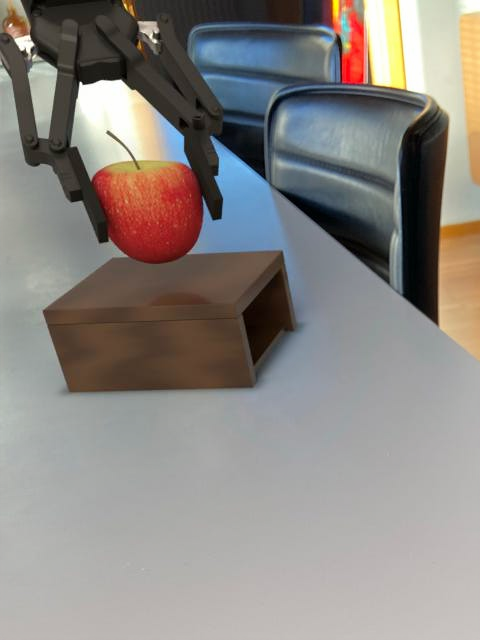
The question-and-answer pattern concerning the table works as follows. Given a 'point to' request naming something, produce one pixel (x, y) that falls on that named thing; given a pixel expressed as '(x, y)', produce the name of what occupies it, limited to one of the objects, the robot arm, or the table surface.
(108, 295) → the shelf
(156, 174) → the apple
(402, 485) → the table surface
